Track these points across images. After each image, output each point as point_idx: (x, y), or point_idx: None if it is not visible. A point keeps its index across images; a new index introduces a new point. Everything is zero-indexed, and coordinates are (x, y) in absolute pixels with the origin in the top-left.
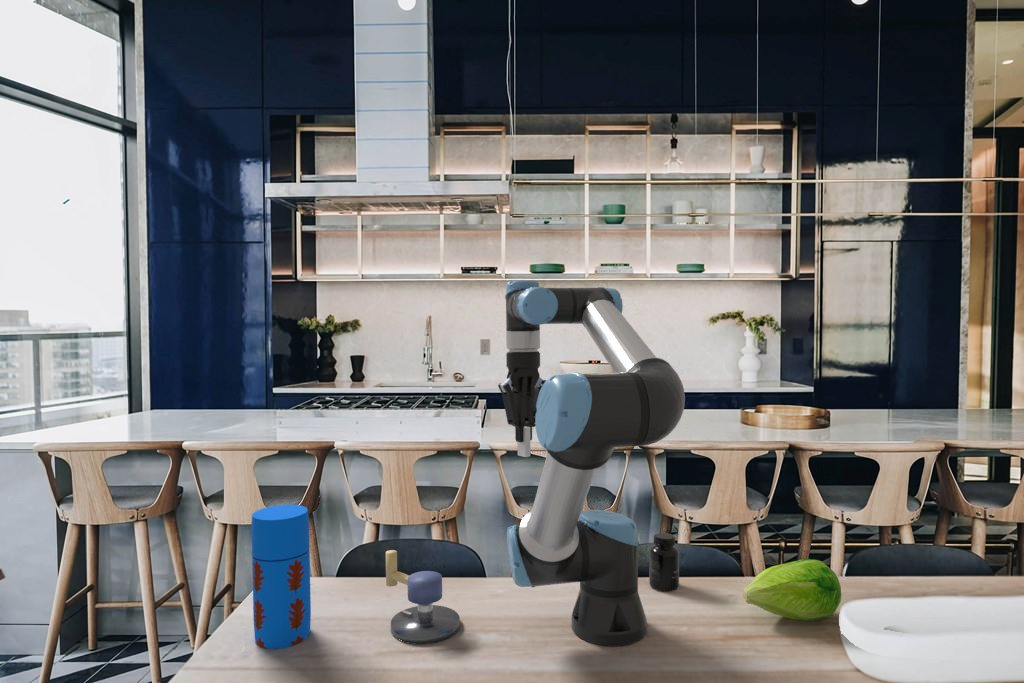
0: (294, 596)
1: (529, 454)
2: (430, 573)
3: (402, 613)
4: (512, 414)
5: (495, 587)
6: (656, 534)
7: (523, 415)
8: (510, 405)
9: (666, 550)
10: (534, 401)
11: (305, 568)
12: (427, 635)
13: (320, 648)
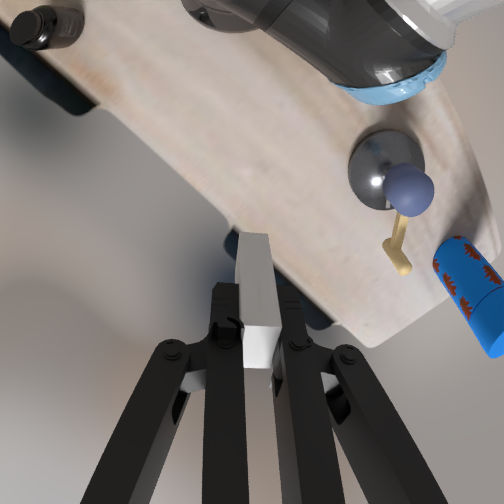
0: (483, 261)
1: (246, 236)
2: (401, 199)
3: (390, 204)
4: (388, 401)
5: (242, 185)
6: (24, 40)
7: (302, 394)
8: (413, 449)
9: (44, 12)
10: (151, 475)
11: (484, 280)
12: (415, 143)
13: (457, 215)
